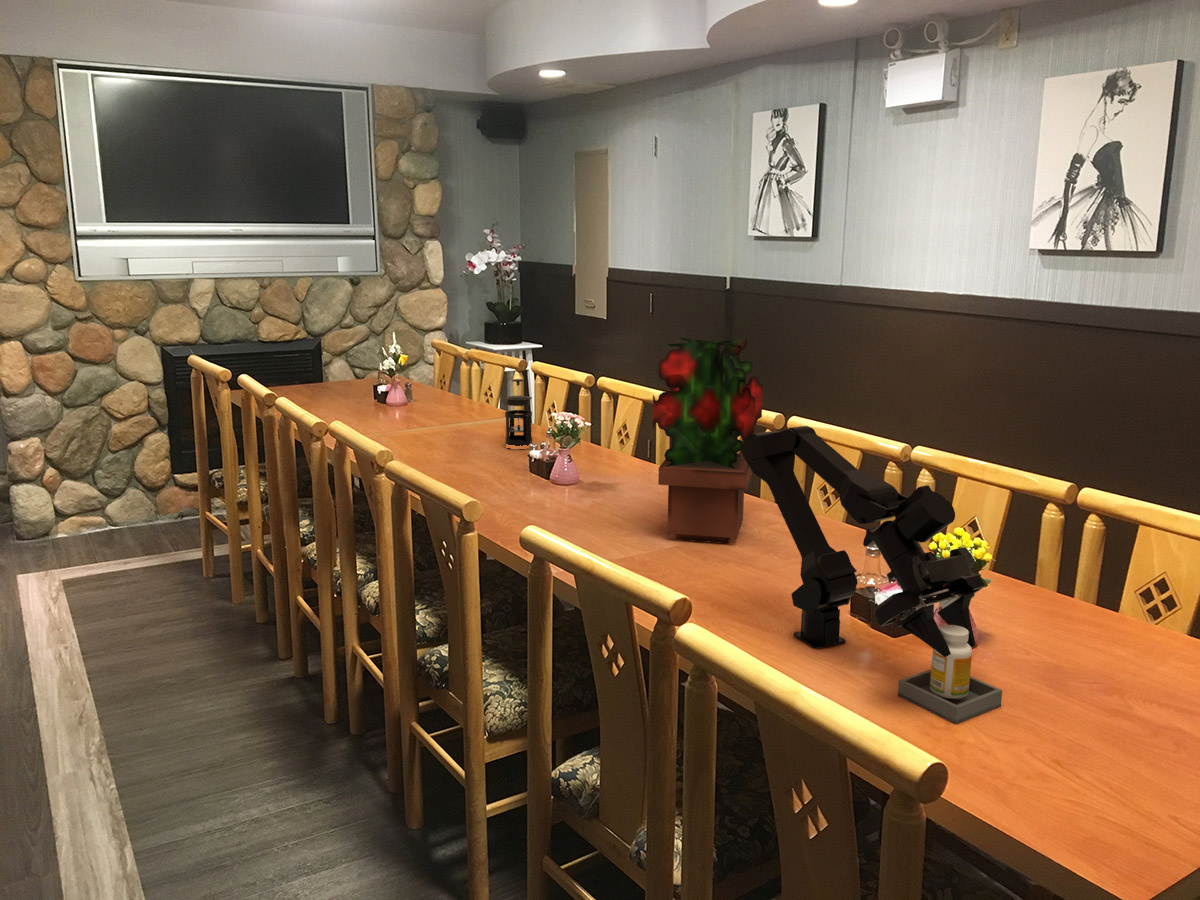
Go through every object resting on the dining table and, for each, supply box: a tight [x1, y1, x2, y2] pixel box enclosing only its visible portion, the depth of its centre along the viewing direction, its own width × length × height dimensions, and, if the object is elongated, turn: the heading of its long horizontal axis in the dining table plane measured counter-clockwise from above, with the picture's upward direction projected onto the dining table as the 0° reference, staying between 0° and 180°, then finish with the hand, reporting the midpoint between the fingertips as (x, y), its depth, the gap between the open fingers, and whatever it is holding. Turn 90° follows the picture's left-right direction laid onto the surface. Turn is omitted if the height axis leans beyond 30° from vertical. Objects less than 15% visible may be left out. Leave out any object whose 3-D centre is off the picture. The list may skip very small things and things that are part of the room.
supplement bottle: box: [930, 624, 973, 699], centre depth 138 cm, size 5×5×10 cm
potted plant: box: [652, 337, 764, 544], centre depth 216 cm, size 22×22×45 cm
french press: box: [504, 378, 533, 446], centre depth 314 cm, size 12×9×23 cm
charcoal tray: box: [897, 668, 1003, 725], centre depth 139 cm, size 10×10×2 cm
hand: (960, 651), depth 136 cm, fingers closed on supplement bottle, 5 cm apart
